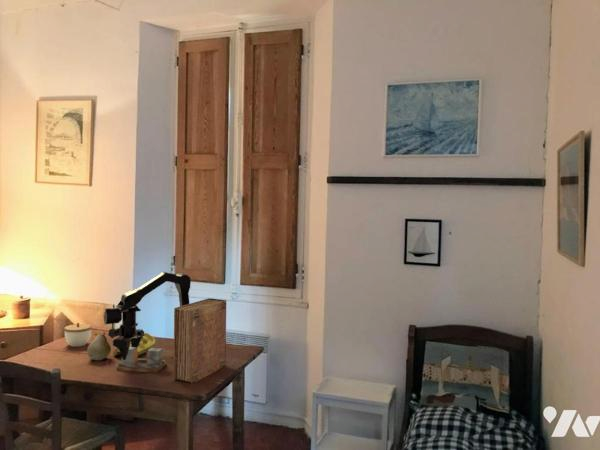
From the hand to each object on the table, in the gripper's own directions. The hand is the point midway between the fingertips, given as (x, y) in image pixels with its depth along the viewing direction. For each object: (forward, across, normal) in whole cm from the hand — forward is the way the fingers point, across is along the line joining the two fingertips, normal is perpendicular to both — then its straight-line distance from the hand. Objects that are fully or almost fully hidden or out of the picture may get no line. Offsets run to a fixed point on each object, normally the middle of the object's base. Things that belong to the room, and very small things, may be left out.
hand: (129, 356), depth 233 cm
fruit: (+5, -7, -18) cm, 20 cm away
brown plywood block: (+5, +2, +34) cm, 34 cm away
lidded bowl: (+5, -27, -40) cm, 48 cm away
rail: (+4, 0, +6) cm, 7 cm away
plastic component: (+5, -20, -6) cm, 21 cm away
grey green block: (+3, 0, 0) cm, 3 cm away
